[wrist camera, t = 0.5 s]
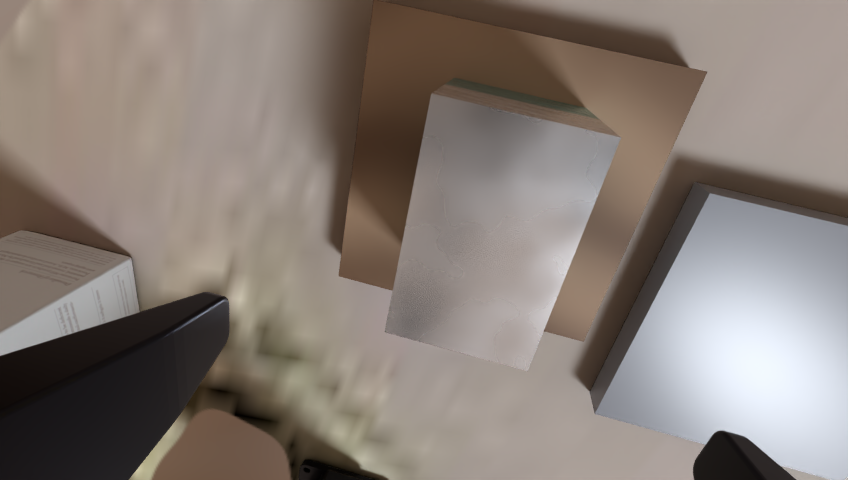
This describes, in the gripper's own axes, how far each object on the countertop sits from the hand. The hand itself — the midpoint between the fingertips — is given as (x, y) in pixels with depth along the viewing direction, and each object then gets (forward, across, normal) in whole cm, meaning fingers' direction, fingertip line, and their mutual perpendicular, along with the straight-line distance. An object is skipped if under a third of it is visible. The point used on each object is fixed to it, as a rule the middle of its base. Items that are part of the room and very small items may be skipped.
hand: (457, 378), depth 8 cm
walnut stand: (+13, 0, 0) cm, 13 cm away
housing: (+11, 0, 0) cm, 11 cm away
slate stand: (+13, -14, +4) cm, 20 cm away
